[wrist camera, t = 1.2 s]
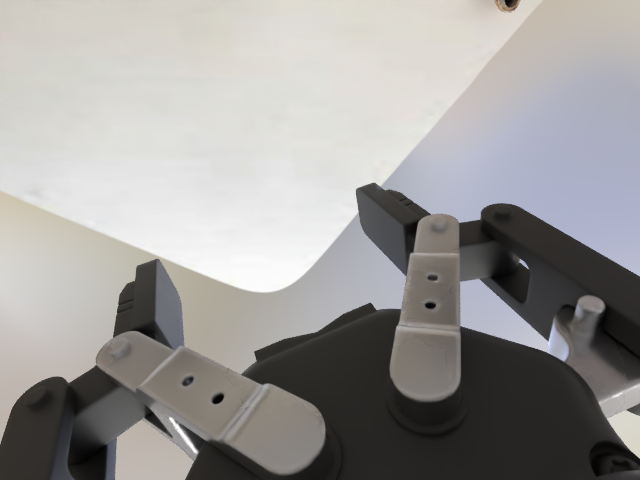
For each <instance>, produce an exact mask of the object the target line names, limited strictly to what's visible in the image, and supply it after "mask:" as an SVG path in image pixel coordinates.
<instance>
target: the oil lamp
mask: <svg viewBox="0 0 640 480" xmlns="http://www.w3.org/2000/svg"><path fill="white" fill-rule="evenodd" d="M495 3H496V5H497V7H498V8H499V9H500V10H501V11H503V12H513V11H514V10H515V9H516V8H517V6H518V5H519V3H520V0H495Z"/></svg>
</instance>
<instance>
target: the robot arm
mask: <svg viewBox="0 0 640 480" xmlns="http://www.w3.org/2000/svg"><path fill="white" fill-rule="evenodd" d="M356 197H357V203H358V210H359V216H360V222H361V226H362V228H363V230H364V232H365V234H366V235H367V236H368V237H369V238H370V239H371V240H372V241H373V242H374V243H375V244H376V246H378V248H379V249H380V250H381V251H382V252H383V253H384V254H385V255H386V256H387V257H388V258H389V259H390V260H391V261H392V262H393V263H394V264H395V265H396V266H397V267H398V268H399V269H400V270H401V271H402V273H403V274H404V275H405V276H406V283H405V289H404V296H403V302H402V309H381V310H376V309H375V308H374V306H373V305H372V304H371V303H369V304H366V305H364V306H361V307H359V308H357V309H354V310H352V311H350V312H347V313H345V314H343V315H341V316H340V317H339V318H337V319H336V320H334V321H333V322H331V323H330V324H329V325H327V326H326V327H324V328H323V329H321V330H320V331H318V332H315V333H311V334H307V335H301V336H297V337H292V338H288V339H283V340H281V341H279V342H276V343H274V344H271V345H269V346H267V347H264V348H262V349H260V350H257V351H255V352H254V353H255V356H256V360H257V362H255V363H254V364H252V365H251V366H250V367H249V368H248V369H246V371H244V373H242V374H239V373H237V372H235V371H233V370H231V369H229V368H227V367H225V366H223V365H221V364H219V363H217V362H214V361H213V360H211V359H209V358H207V357H205V356H203V355H201V354H199V353H197V352H195V351H193V350H191V349H189V348H187V347H185V346H184V335H183V321H182V306H181V301H180V297H179V295H178V292H177V290H176V288H175V286H174V285H173V283H172V281H171V279H170V277H169V275H168V274H167V272H166V270H165V268H164V267H163V265H162V263H161V262H160V260H159V259H155V260H153V261H150V262H147V263H144V264H141V265H138V266H137V268H136V278H135V281H133V282H130V283H128V284H127V285H126V286H125V288H124V289H123V290H122V292H121V293H120V296H119V303H118V304H119V306H118V309H117V313H118V314H117V316H116V322H115V329H114V335H113V339H111V340H110V341H108V342H107V343H106V344H105V345H104V346H103V347H102V348H101V350H100V351H99V353H98V354H97V357H96V366H95V367H94V368H92V369H91V370H89V371H88V372H86V373H84V374H83V375H81V376H80V377H78V378H76V379H75V380H73V381H72V382H70V383H68V382H67V381H66V380H65V379H64V378H62V377H51V378H48V379H45V380H43V381H41V382H39V383H37V384H35V385H34V386H33V387H31V388H30V389H28V390H27V391H26V392H25V393H24V394H23V395H22V396H21V397H20V398H19V399H18V400H17V402H16V403H15V404H14V406H13V408H12V410H11V413H10V416H9V419H8V422H7V425H6V428H5V432H4V435H3V438H2V441H1V444H0V480H115V463H116V440H117V438H116V437H118V436H119V435H120V434H122V433H123V432H125V431H126V430H127V429H129V428H130V427H131V426H133V425H134V424H135V423H137V422H138V421H140V420H141V419H142V420H143V421H145V422H146V423H147V424H149V425H150V426H151V427H153V428H154V429H155V430H157V431H158V432H159V433H161V434H162V435H164V436H165V437H166V438H168V439H169V440H170V441H172V442H173V443H174V444H176V445H177V446H179V447H180V448H181V449H182V450H183V451H184V452H185V453H186V454H187V455H188V456H189V457H190V458H191V459H192V460H193V461H194V463H193V465H192V467H191V469H190V471H189V473H188V475H187V477H186V479H185V480H640V459H639V458H638V457H637V456H636V455H635V454H634V453H633V452H631V451H630V450H629V449H628V448H627V446H626V445H625V444H624V443H623V441H622V440H621V439H620V438H619V436H618V435H617V434H616V432H615V431H614V429H613V428H612V427H611V425H610V424H609V422H608V420H607V418H609V417H612V416H614V415H616V414H618V413H620V412H622V411H625V410H627V411H629V412H631V413H634V414H636V415H639V416H640V276H638V275H636V274H634V273H633V272H631V271H629V270H627V269H626V268H624V267H622V266H620V265H619V264H617V263H615V262H614V261H611V260H610V259H608V258H607V257H605V256H603V255H601V254H600V253H598V252H596V251H595V250H593V249H591V248H589V247H588V246H586V245H584V244H582V243H581V242H579V241H577V240H575V239H573V238H572V237H570V236H568V235H567V234H565V233H563V232H562V231H560V230H558V229H556V228H554V227H553V226H551V225H549V224H547V223H546V222H544V221H543V220H541V219H539V218H537V217H536V216H534V215H532V214H530V213H529V212H527V211H525V210H523V209H522V208H520V207H518V206H515V205H512V204H503V203H501V204H492V205H489V206H487V207H485V208H484V209H483V210H482V211H481V220H476V221H470V222H463V223H459V222H458V220H457V219H456V218H454V217H453V216H450V215H446V214H433V215H431V214H430V213H428V212H427V211H426V210H424V209H423V208H421V207H420V206H418V205H417V204H415V203H414V202H413V201H412V200H410V199H408V198H407V197H406V196H404V195H403V194H402V193H400V192H397V191H393V190H386V191H385V190H383V189H382V188H381V187H380V186H378V185H377V184H376V183H371V184H368V185H365V186H363V187H360V188H357V189H356ZM519 259H521V260H523V261H524V262H525V263H526V264H527V266H528V268H529V269H527V268H526V267H525V266H523V265H522V264H521V263H519ZM475 279H480V280H481V281H482V282H483V283H484V284H486V285H487V286H488V287H489V288H490V289H491V290H492V291H493V292H494V293H496V294H497V295H498V296H499V297H500V298H501V299H502V300H503V301H504V302H505V303H507V304H508V305H509V306H510V307H511V308H512V309H513V310H514V311H515V312H516V313H517V314H519V315H520V316H521V317H522V318H523V319H524V320H525V321H526V322H528V323H529V324H530V325H531V326H532V327H533V328H534V329H535V330H536V331H538V332H539V333H540V334H541V335H542V336H543V337H544V338H545V339H546V340H547V341H548V350H549V353H550V354H549V353H547V352H544V351H541V350H538V349H535V348H532V347H528V346H525V345H522V344H518V343H515V342H511V341H508V340H505V339H501V338H498V337H495V336H491V335H488V334H485V333H482V332H478V331H475V330H472V329H468V328H465V327H461V326H460V282H461V281H468V280H475Z"/></svg>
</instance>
